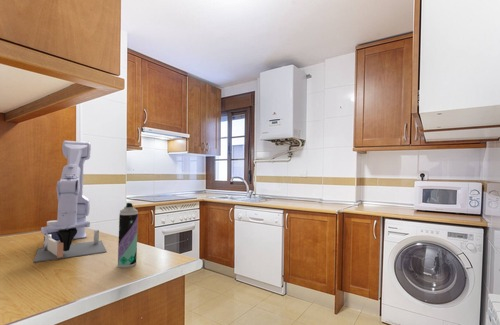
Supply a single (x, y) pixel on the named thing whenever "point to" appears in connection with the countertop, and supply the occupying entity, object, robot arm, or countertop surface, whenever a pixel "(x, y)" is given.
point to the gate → (55, 247)
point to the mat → (71, 251)
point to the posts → (96, 237)
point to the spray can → (127, 236)
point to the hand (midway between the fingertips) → (65, 250)
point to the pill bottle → (54, 235)
